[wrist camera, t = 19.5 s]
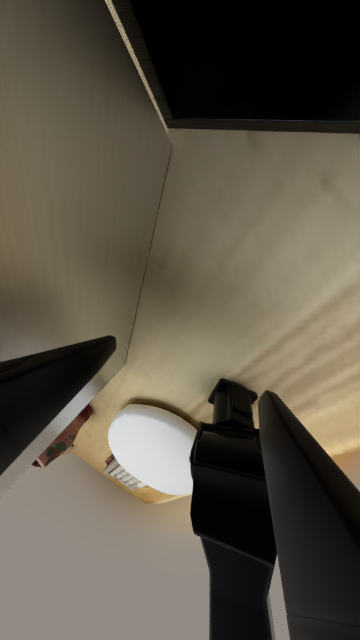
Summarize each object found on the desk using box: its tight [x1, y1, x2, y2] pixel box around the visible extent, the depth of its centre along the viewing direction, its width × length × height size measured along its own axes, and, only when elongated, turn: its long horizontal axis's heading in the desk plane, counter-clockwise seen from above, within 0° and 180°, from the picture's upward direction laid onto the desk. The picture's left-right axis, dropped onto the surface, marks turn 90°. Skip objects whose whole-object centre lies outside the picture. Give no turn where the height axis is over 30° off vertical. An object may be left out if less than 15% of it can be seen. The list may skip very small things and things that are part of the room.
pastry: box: [62, 444, 73, 454], centre depth 64 cm, size 9×7×4 cm
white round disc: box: [108, 404, 197, 496], centre depth 34 cm, size 28×6×27 cm
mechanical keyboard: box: [104, 455, 147, 490], centre depth 49 cm, size 38×19×3 cm, turn 150°
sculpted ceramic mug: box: [31, 405, 92, 468], centre depth 38 cm, size 20×12×14 cm, turn 150°
